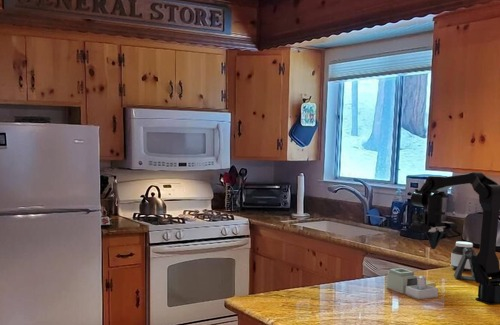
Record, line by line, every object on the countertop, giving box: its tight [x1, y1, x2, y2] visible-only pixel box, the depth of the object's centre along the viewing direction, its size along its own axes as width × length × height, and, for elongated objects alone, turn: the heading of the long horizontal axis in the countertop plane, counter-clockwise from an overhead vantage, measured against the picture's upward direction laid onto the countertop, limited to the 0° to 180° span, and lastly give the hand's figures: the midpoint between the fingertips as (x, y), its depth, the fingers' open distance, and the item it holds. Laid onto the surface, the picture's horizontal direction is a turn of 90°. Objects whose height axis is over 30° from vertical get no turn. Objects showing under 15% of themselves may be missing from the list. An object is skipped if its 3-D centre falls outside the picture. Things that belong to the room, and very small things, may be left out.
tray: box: [405, 285, 439, 300], centre depth 175 cm, size 6×9×3 cm, turn 116°
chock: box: [426, 279, 437, 288], centre depth 184 cm, size 5×6×3 cm
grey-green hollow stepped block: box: [386, 267, 417, 294], centre depth 183 cm, size 8×9×7 cm
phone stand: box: [453, 248, 476, 282], centre depth 203 cm, size 9×6×12 cm, turn 75°
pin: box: [416, 275, 427, 290], centre depth 175 cm, size 3×3×6 cm
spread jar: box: [450, 240, 477, 272], centre depth 222 cm, size 12×11×12 cm
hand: (433, 248), depth 194 cm, fingers closed
